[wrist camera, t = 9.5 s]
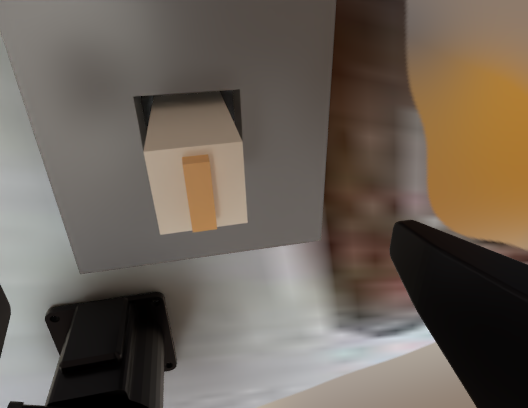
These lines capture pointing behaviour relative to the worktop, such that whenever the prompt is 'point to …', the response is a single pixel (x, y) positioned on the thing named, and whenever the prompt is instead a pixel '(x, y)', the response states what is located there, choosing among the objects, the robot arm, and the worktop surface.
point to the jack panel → (173, 82)
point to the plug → (195, 163)
